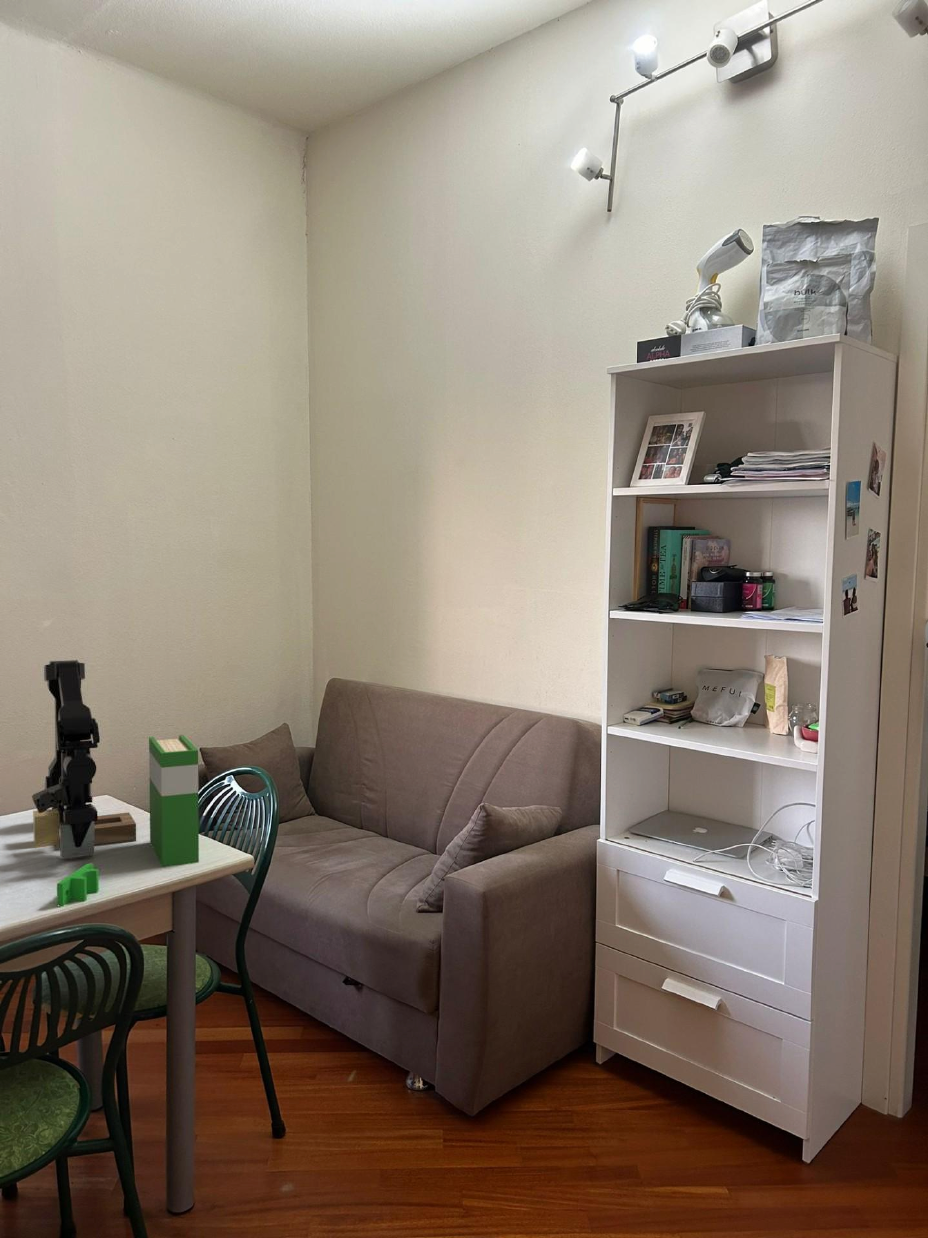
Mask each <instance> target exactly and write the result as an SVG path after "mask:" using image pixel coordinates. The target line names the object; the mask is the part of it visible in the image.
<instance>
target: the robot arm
mask: <svg viewBox="0 0 928 1238" xmlns="http://www.w3.org/2000/svg"><path fill="white" fill-rule="evenodd" d="M85 664H86V663H84V662H79V660H77V659H76V660H75V659H74V660H51V661H49V664H46V665H44V667H43V680H44V682H47V683H46V685H47V689H48V690H49V692H50V694H51V695H52V697H53V698H54V750H55V751H54V752H55V754H54V758H53V759H52V761H51V762H50V764H49V766H48V767H47V772H48V773H47V776H45V778H44V789H43V790H40V791H38V792H36V793H33V794H32V795H31V798H32V799H31V800H32V801H33V803H34V806H35V808H36V811H38V813H42V812H45V811H46V810H48V809H58V812H59V822H60V823H61V822H65V824H69V825H71V830H72V834H73V839H74V843H75V847H81V845H82V843H83V841H84V838H85V836H86V834H87V832H88V829H89V827H90V825H91V823H92V822H93V821H97V820H98V816H99V815H98V814H99V813H98V810H97V807H95V805H93V796H92V784H93V778H94V777H95V775H96V772H97V764H96V762H95V760H94V758H93V757H92V755H91V749H97V748H98V747H99V746H98V744H99V743H100V742H101V741H100V740H101V739H100V737H101V736H100V731H99V723H98V722H97V721H96V718H94V717H92V712H91V708H90V707H88V706H87V705H86V704H84V701H83V694H82V690H81V689H82V681H83V680H85V679H86V669H85V668H86V667H85V666H86V665H85Z"/></svg>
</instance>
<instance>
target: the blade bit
mask: <svg viewBox="0 0 928 1238" xmlns="http://www.w3.org/2000/svg"><path fill="white" fill-rule="evenodd" d="M59 847H60V850H59V852H60V854H59V855H60V857H61V859H69V858H76V857H82V856H91V855H95V849H96V848H95V847H96V846H94V821H93V822H92V823H91V825H90V827H89V829H88V832H87V834H86V836H85V838H84V841H83V843H82V845H81V847H75V843H74V839H73V834H72V830H71V825H69V824H65V822H61V823H60V845H59Z"/></svg>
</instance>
